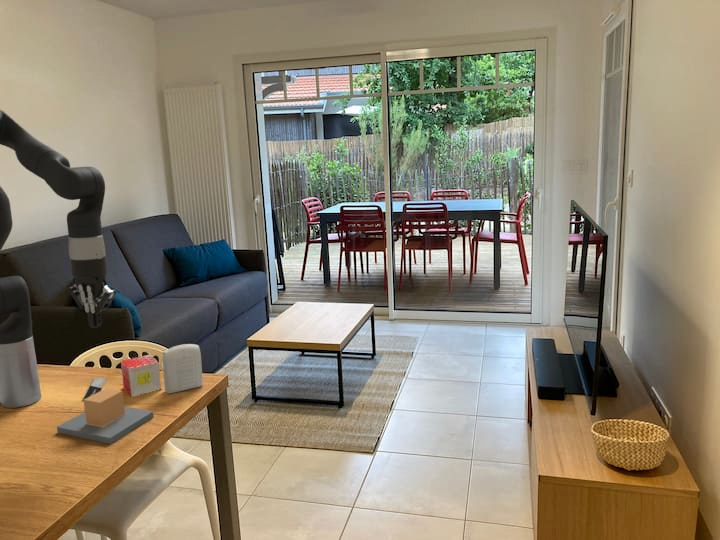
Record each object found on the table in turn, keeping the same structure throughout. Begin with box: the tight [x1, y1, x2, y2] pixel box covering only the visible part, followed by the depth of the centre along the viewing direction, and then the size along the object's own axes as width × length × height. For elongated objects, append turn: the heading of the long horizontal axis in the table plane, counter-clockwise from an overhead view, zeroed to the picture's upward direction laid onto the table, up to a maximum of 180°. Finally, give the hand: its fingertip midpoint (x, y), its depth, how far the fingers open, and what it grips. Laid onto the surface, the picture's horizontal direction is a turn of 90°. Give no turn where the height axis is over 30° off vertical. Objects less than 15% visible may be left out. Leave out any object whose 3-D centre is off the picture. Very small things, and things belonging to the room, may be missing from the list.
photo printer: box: [162, 343, 204, 394], centre depth 160 cm, size 10×4×12 cm, turn 123°
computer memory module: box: [81, 377, 107, 402], centre depth 161 cm, size 15×1×4 cm
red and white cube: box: [120, 354, 162, 398], centre depth 160 cm, size 8×8×8 cm
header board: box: [56, 405, 154, 445], centre depth 140 cm, size 16×14×4 cm
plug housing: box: [83, 387, 125, 427], centre depth 140 cm, size 5×7×6 cm
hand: (95, 326), depth 139 cm, fingers closed
